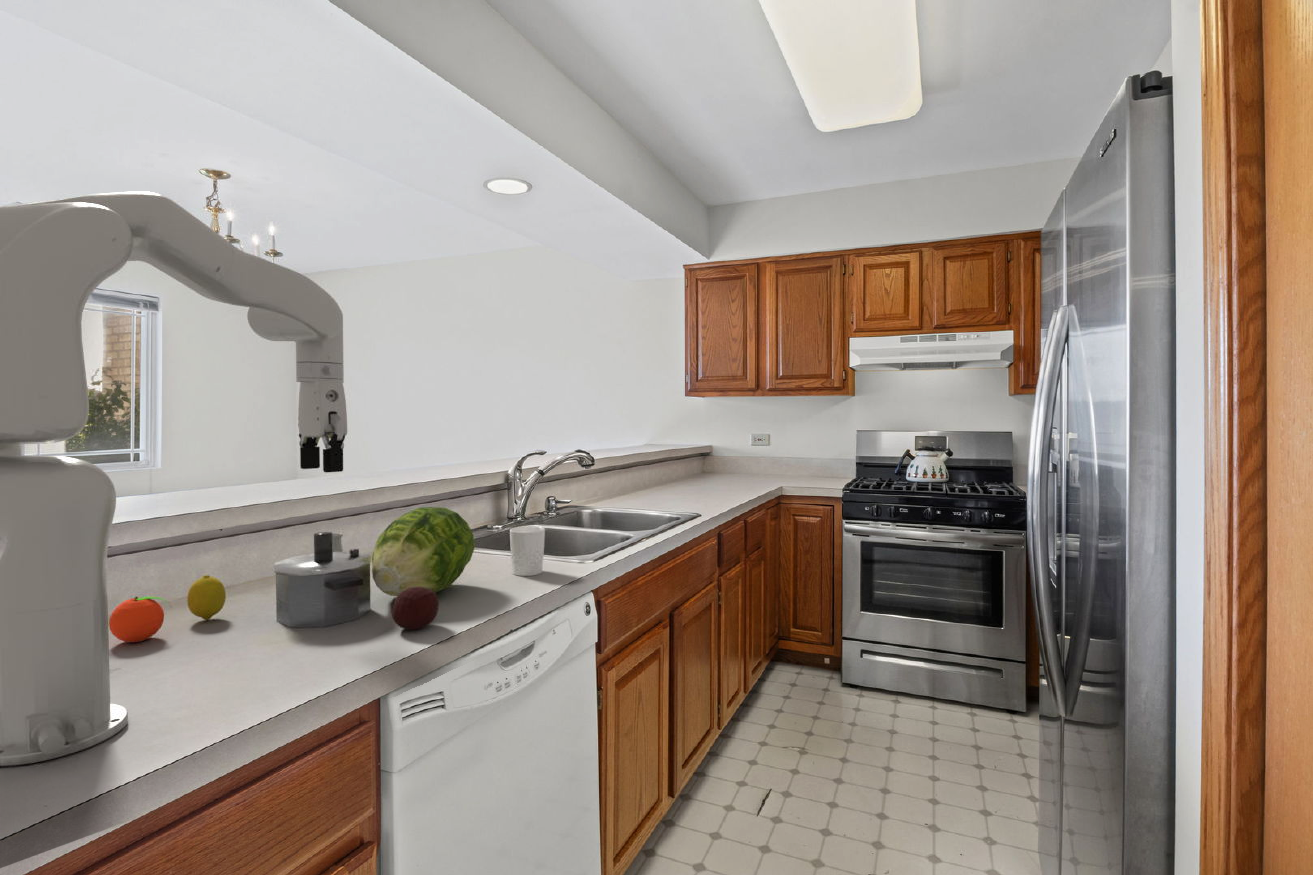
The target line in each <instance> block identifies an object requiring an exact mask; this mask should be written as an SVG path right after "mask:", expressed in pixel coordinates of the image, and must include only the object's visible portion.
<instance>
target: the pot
mask: <svg viewBox="0 0 1313 875" xmlns="http://www.w3.org/2000/svg"><path fill="white" fill-rule="evenodd" d="M275 599H276V601H275V604H276V610H275V612H276V615H275V616H276V621H277V622H279V623H281V624H282V625H284V626H286V627H287V628H291V629H292V628H327V627H330V626H335V625H338V624H343V623H347V622H351V621H355V620H359V619H361V618H362V617H363V616H364V615H366V614H367V613H368V612H369V611H371V607H372V606H371V563H370V564H369V565H367V566H365V567H363V568H360V569H357V570H353V571H348V572H343V573H337V574H330V575H319V576H286V575H280V574H277V573H275Z"/></svg>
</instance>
